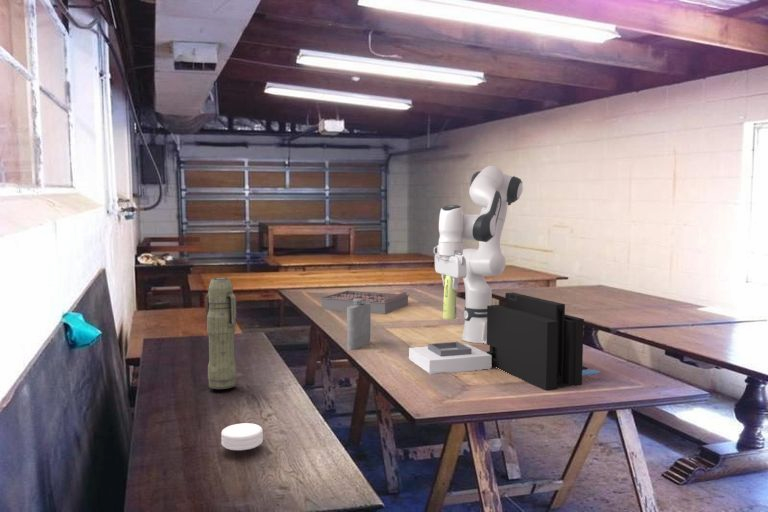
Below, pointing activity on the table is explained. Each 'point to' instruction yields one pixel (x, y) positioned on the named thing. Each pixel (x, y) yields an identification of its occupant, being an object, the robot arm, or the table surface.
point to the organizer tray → (365, 301)
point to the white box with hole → (450, 358)
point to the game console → (536, 341)
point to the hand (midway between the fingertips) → (450, 288)
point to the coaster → (242, 436)
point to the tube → (449, 299)
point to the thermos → (221, 333)
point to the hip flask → (358, 325)
